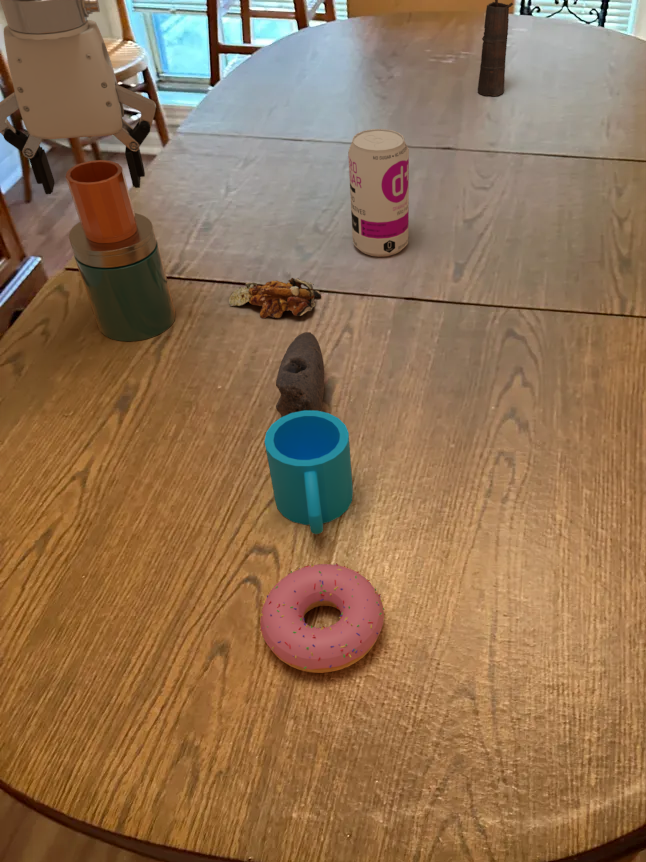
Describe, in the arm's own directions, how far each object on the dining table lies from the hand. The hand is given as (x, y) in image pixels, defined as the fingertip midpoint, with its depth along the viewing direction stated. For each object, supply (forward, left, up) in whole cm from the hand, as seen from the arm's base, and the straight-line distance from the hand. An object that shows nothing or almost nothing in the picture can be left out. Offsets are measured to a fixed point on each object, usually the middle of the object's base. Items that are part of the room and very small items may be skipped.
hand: (94, 185), depth 90 cm
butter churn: (+68, +68, -18) cm, 98 cm away
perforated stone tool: (+20, -21, -18) cm, 34 cm away
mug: (+19, -39, -18) cm, 47 cm away
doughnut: (+18, -54, -18) cm, 60 cm away
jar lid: (0, 0, -6) cm, 6 cm away
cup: (0, 0, -6) cm, 6 cm away
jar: (0, 0, -18) cm, 18 cm away
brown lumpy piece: (+18, 0, -18) cm, 26 cm away
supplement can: (+35, +13, -18) cm, 42 cm away
